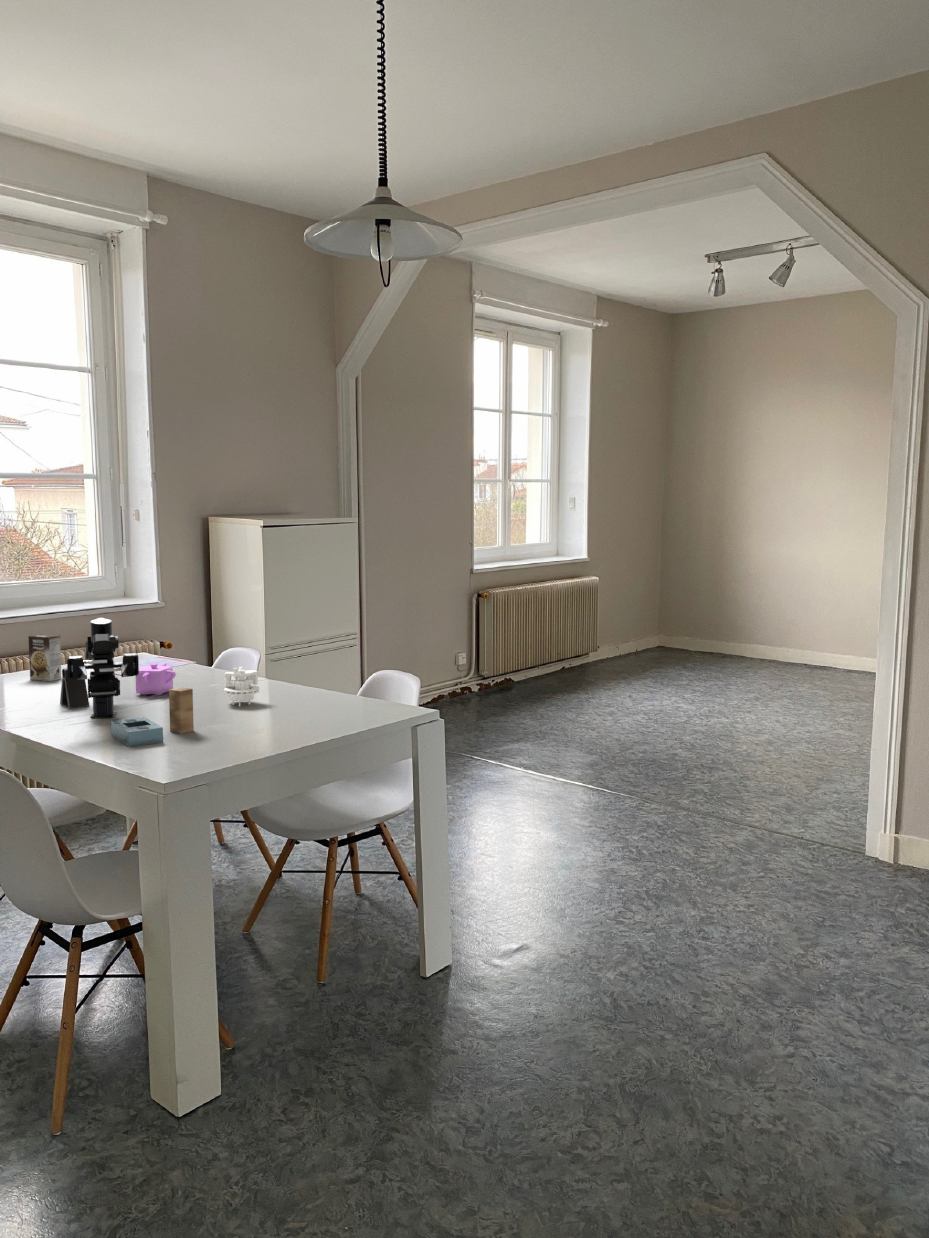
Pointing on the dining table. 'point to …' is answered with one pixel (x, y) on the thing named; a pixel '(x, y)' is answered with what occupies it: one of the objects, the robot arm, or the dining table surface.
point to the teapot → (155, 679)
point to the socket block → (137, 731)
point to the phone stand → (73, 692)
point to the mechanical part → (241, 684)
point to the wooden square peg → (181, 710)
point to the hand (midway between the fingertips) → (104, 676)
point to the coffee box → (45, 657)
